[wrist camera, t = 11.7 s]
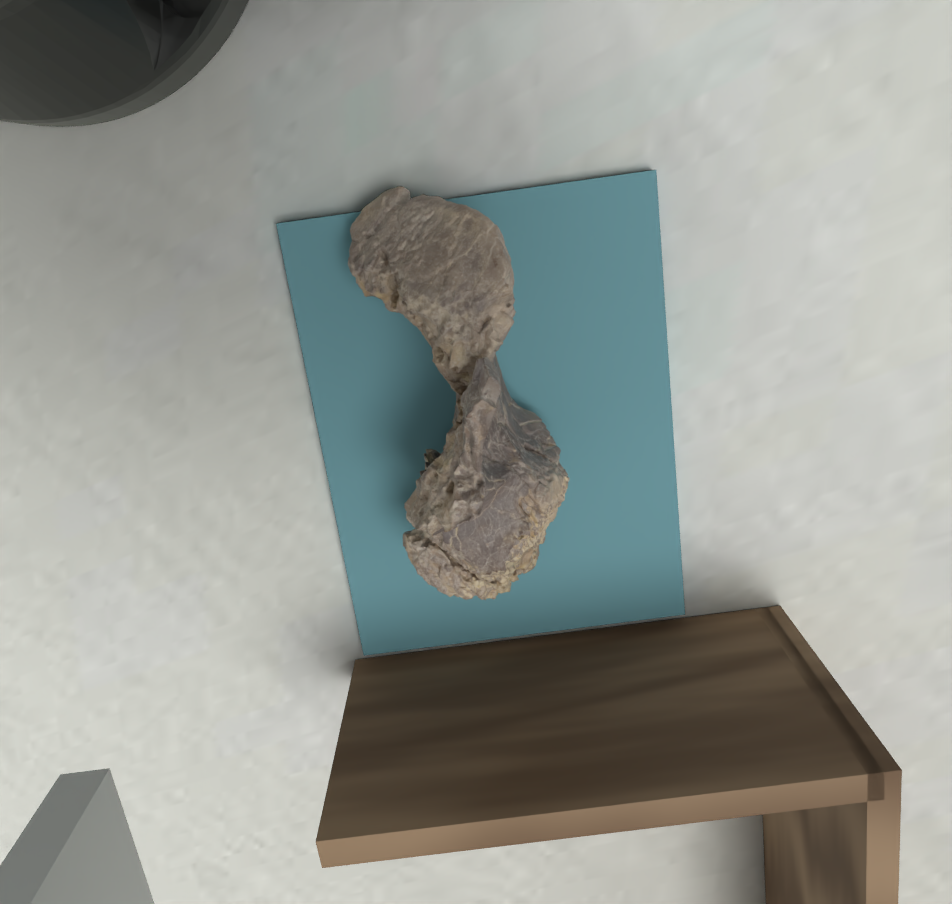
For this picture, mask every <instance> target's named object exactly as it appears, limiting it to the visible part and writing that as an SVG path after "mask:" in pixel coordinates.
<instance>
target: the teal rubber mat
mask: <svg viewBox="0 0 952 904" xmlns="http://www.w3.org/2000/svg"><path fill="white" fill-rule="evenodd" d="M445 200H446V201H450V202H453V203H456V204H463V205H467V206H468V207H470V208H472V209H476V210H478V211H479V212H481V213H482V214H483V215H485V216H487V217H488V218H489V219H490V220H491V221H492V222H493V223H494V224H496V225H497V226H498V227H499V229H500V231H501V233H502V235H503V237H504V241H505V246H506V248H507V250H508V253H509V255H510V257H511V265H512V269H513V274H514V287H513V294H514V298H515V302H514V304H513V306H514V310H515V311H516V313H515V316H514V317H513V320H514V323H513V325H512V327H511V329H510V330H509V332H508V334H507V336H506V338H505V340H504V341H503V345H501V346H500V348H499V350H498V351H496V356H497V360H498V364H499V367H500V369H501V373H502V376H503V379H504V382H505V385H506V388H507V390H508V392H509V394H510V396H511V398H512V399H513V400H514V401H515V402H516V403H517V405H518V406H520V407H522V408H524V409H526V410H529V411H532V412H534V413H535V414H536V415H537V416H538V417H539V418H541V419H542V422H543V423H544V424H545V425H546V429H547V430H548V431H549V432H550V436H552V437H553V439H554V441H555V443H556V445H557V446H558V447H559V448H560V450H561V452H560V455H559V456H560V459H559V462H560V464H561V466H562V467H563V468H564V469H565V470H566V472H567V474H568V477H569V481H568V488H567V491H566V493H565V500H564V501H563V502H562V503H561V506H560V507H558V511H557V514H556V517H555V519H554V521H553V522H550V524H549V525H548V527H547V529H546V535H545V541H544V543H543V544H540V545H539V552H540V553H539V556H538V559H537V562H536V566H535V567H534V568H533V569H532V570H531V571H529V572H527V573H525V574H523V573H522V574H521V575H518V578H519V580H518V581H515V582H512V581H511V584H512V585H511V590H510V592H505V593H502V594H501V593H498V595H497V596H496V598H495V599H494V600H493V599H491V598H487V599H486V600H484V599H483V600H481V599H480V598H478V597H477V596H474V597H473V598H472V599H467V600H465V599H463V598H461V597H457V596H454V595H453V596H451V597H449V596H447V595H446V594H443V593H441V592H439V591H438V590H437V588H435V587H433V586H432V585H429V584H428V583H427V582H426V581H425V580H424V579H423V577H421V576H420V575H418V574H417V571H416V569H415V567H414V566H413V564H412V563H411V561H410V559H409V558H408V554H407V552H406V549H405V547H404V546H403V534H404V532H407V531H412V530H413V529H415V528H414V527H413V525H412V524H411V523H410V522H409V521H408V520H407V519H406V513H407V512H406V510H405V508H404V506H405V505H404V504H405V502H406V501H407V500H408V499H409V498H410V496H411V495H412V493H413V492H414V490H415V489H416V488H417V486H416V480H417V479H419V478H420V477H421V476H420V471H423V470H425V459H424V453H426V449H433V450H436V451H438V452H439V453H440V454H441V453H442V452H443V447H444V445H445V444H446V435H447V433H448V432H449V431H450V429H451V428H452V427H453V423H452V422H453V418H454V413H455V405H456V392H455V391H453V389H451V386H450V384H449V383H448V382H447V380H446V379H445V378H444V377H443V375H442V374H441V373H440V372H439V370H438V369H437V367H436V365H435V363H434V362H433V361H432V360H433V353H432V347H431V345H429V343H428V341H427V340H426V339H425V337H424V336H423V335H422V333H421V331H420V330H419V329H418V328H417V327H416V326H414V325H413V324H412V323H411V322H410V321H409V320H408V319H407V318H405V317H404V315H403V314H401V313H399V312H398V313H396V312H391V311H388V309H386V307H385V303H383V301H382V299H379V298H377V297H374V296H370V297H365V296H364V293H363V291H362V290H361V288H360V287H359V286H358V284H357V283H356V278H355V277H354V276H353V275H352V273H351V272H350V269H349V266H348V258H349V249H350V245H351V242H352V238H351V233H350V228H351V225H352V223H353V222H354V221H355V220H356V218H357V217H358V216H359V215H360V213H361V211H360V212H353V213H346V214H339V215H332V216H325V217H318V218H311V219H304V220H297V221H290V222H282V223H277V224H276V225H277V230H278V235H279V240H280V245H281V250H282V255H283V260H284V265H285V270H286V275H287V280H288V284H289V289H290V294H291V299H292V304H293V309H294V314H295V319H296V324H297V329H298V334H299V339H300V344H301V349H302V354H303V359H304V363H305V368H306V373H307V378H308V383H309V388H310V393H311V398H312V403H313V408H314V413H315V418H316V423H317V428H318V433H319V438H320V442H321V447H322V452H323V457H324V462H325V467H326V472H327V477H328V482H329V487H330V492H331V497H332V502H333V507H334V512H335V516H336V521H337V526H338V531H339V536H340V541H341V546H342V551H343V556H344V561H345V566H346V571H347V576H348V581H349V586H350V591H351V595H352V600H353V605H354V610H355V615H356V620H357V625H358V630H359V635H360V640H361V645H362V650H363V655H364V656H365V655H372V654H380V653H388V652H396V651H404V650H411V649H419V648H427V647H435V646H443V645H451V644H458V643H466V642H474V641H482V640H490V639H498V638H505V637H513V636H521V635H529V634H537V633H545V632H552V631H560V630H568V629H576V628H584V627H591V626H599V625H607V624H615V623H623V622H631V621H638V620H646V619H654V618H662V617H670V616H678V615H685V607H684V591H683V576H682V561H681V545H680V530H679V514H678V499H677V483H676V468H675V453H674V437H673V422H672V406H671V391H670V375H669V360H668V344H667V329H666V314H665V298H664V283H663V267H662V252H661V236H660V221H659V206H658V190H657V175H656V170H649V171H642V172H635V173H628V174H621V175H614V176H607V177H600V178H593V179H586V180H579V181H572V182H565V183H558V184H551V185H544V186H536V187H529V188H522V189H515V190H508V191H501V192H494V193H487V194H480V195H473V196H466V197H459V198H452V199H445Z"/></svg>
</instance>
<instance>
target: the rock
mask: <svg viewBox="0 0 952 904" xmlns="http://www.w3.org/2000/svg"><path fill="white" fill-rule="evenodd" d="M350 233H351V238H352V242H351V245H350V249H349V258H348V266H349V269H350V272H351V273H352V275H353V276H354V277H355V278H356V283H357V284H358V286H359V287H360V288H361V290H362V291H363V293H364V296H365V297H370V296H374V297H377V298H379V299H382V301H383V303H385V307H386V309H388V311H391V312H396V313H398V312H399V313H401V314H403V315H404V317H405V318H407V319H408V320H409V321H410V322H411V323H412V324H413V325H414V326H416V327H417V328H418V329H419V330H420V331H421V333H422V335H423V336H424V337H425V339H426V340H427V341H428V343H429V345H431V347H432V353H433V360H432V361H433V362H434V363H435V365H436V367H437V369H438V370H439V372H440V373H441V374H442V375H443V377H444V378H445V379H446V380H447V382H448V383H449V384H450V386H451V389H453V391H455V392H456V405H455V413H454V418H453V422H452V423H453V427H452V428H451V429H450V431H449V432H448V433H447V435H446V444H445V445H444V447H443V452H442V453H441V454H440V453H439V452H438V451H436V450H433V449H426V453H424V459H425V470H423V471H420V476H421V477H420V478H419V479H417V480H416V486H417V488H416V489H415V490H414V492H413V493H412V495H411V496H410V498H409V499H408V500H407V501H406V502H405V504H404V505H405V506H404V508H405V510H406V512H407V513H406V519H407V520H408V521H409V522H410V523H411V524H412V525H413V527H414V528H415V529H413V530H412V531H407V532H404V534H403V546H404V547H405V549H406V552H407V554H408V558H409V559H410V561H411V563H412V564H413V566H414V567H415V569H416V571H417V574H418V575H420V576H421V577H423V579H424V580H425V581H426V582H427V583H428V584H429V585H432V586H433V587H435V588H437V590H438V591H439V592H441V593H443V594H446V595H447V596H449V597H451V596H453V595H454V596H457V597H461V598H463V599H465V600H467V599H472V598H473V597H474V596H477V597H478V598H480V599H481V600H483V599H484V600H486V599H487V598H491V599H493V600H494V599H495V598H496V596H497V595H498V593H501V594H502V593H505V592H510V590H511V585H512V584H511V581H512V582H515V581H518V580H519V578H518V575H521V574H522V573H523V574H525V573H527V572H529V571H531V570H532V569H533V568H534V567H535V566H536V562H537V559H538V556H539V553H540V552H539V545H540V544H543V543H544V541H545V535H546V529H547V527H548V525H549V524H550V522H553V521H554V519H555V517H556V514H557V511H558V507H560V506H561V503H562V502H563V501H564V500H565V493H566V491H567V488H568V481H569V477H568V474H567V472H566V470H565V469H564V468H563V467H562V466H561V464H560V462H559V459H560V456H559V455H560V452H561V450H560V448H559V447H558V446H557V445H556V443H555V441H554V439H553V437H552V436H550V432H549V431H548V430H547V429H546V425H545V424H544V423H543V422H542V419H541V418H539V417H538V416H537V415H536V414H535V413H534V412H532V411H529V410H526V409H524V408H522V407H520V406H518V405H517V403H516V402H515V401H514V400H513V399H512V398H511V396H510V394H509V392H508V390H507V388H506V385H505V382H504V379H503V376H502V373H501V369H500V367H499V364H498V360H497V356H496V351H498V350H499V348H500V346H501V345H503V341H504V340H505V338H506V336H507V334H508V332H509V330H510V329H511V327H512V325H513V323H514V320H513V317H514V316H515V313H516V311H515V310H514V306H513V304H514V302H515V298H514V294H513V287H514V274H513V269H512V265H511V257H510V255H509V253H508V250H507V248H506V246H505V241H504V237H503V235H502V233H501V231H500V229H499V227H498V226H497V225H496V224H494V223H493V222H492V221H491V220H490V219H489V218H488V217H487V216H485V215H483V214H482V213H481V212H479V211H478V210H476V209H472V208H470V207H468V206H467V205H463V204H456V203H453V202H450V201H446V200H444V199H442V198H441V197H439V196H427V195H424V194H422V195H420V196H417V197H413V198H412V199H411V197H410V191H409V190H408V189H406V188H405V187H401V186H398V187H396V188H392V189H388V190H387V191H385V192H383V193H381V195H380V196H378V197H377V198H376V199H374V200H373V201H372V202H371V203H369V204H368V205H367V206H365V207H364V208H363V209H362V211H361V213H360V215H359V216H358V217H357V218H356V220H355V221H354V222H353V223H352V225H351V228H350Z"/></svg>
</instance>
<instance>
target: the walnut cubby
mask: <svg viewBox="0 0 952 904" xmlns="http://www.w3.org/2000/svg"><path fill="white" fill-rule="evenodd" d="M901 778H902V770H901V768H900V767H899V766H898V764H897V763H896V762H895V760H894V759H893V758H892V756H891V755H890V754H889V752H888V751H887V750H886V748H885V747H884V745H883V744H882V743H881V741H880V740H879V739H878V737H877V736H876V735H875V733H874V732H873V731H872V729H871V728H870V727H869V725H868V724H867V722H866V721H865V720H864V718H863V717H862V716H861V714H860V713H859V712H858V710H857V709H856V708H855V706H854V705H853V704H852V702H851V701H850V699H849V698H848V697H847V695H846V694H845V693H844V691H843V690H842V689H841V687H840V686H839V685H838V683H837V682H836V681H835V679H834V678H833V676H832V675H831V674H830V672H829V671H828V670H827V668H826V667H825V666H824V664H823V663H822V662H821V660H820V659H819V658H818V656H817V655H816V653H815V652H814V651H813V649H812V648H811V647H810V645H809V644H808V643H807V641H806V640H805V639H804V637H803V636H802V635H801V633H800V632H799V631H798V629H797V628H796V626H795V625H794V624H793V622H792V621H791V620H790V618H789V617H788V616H787V614H786V613H785V612H784V610H783V609H782V608H781V606H773V607H765V608H757V609H749V610H741V611H733V612H726V613H718V614H710V615H702V616H694V617H686V618H679V619H671V620H663V621H655V622H647V623H639V624H632V625H624V626H616V627H608V628H600V629H592V630H585V631H577V632H569V633H561V634H553V635H546V636H538V637H530V638H522V639H514V640H506V641H499V642H491V643H483V644H475V645H467V646H459V647H452V648H444V649H436V650H428V651H420V652H412V653H405V654H397V655H389V656H381V657H373V658H365V659H358V660H355V664H354V669H353V673H352V678H351V682H350V687H349V692H348V696H347V701H346V705H345V710H344V714H343V719H342V724H341V728H340V733H339V737H338V742H337V747H336V751H335V756H334V760H333V765H332V770H331V774H330V779H329V783H328V788H327V792H326V797H325V802H324V806H323V811H322V815H321V820H320V825H319V829H318V834H317V838H316V845H317V849H318V853H319V857H320V861H321V865H322V868H326V867H334V866H342V865H350V864H359V863H367V862H375V861H383V860H392V859H400V858H408V857H416V856H425V855H433V854H441V853H449V852H458V851H466V850H474V849H482V848H490V847H499V846H507V845H515V844H523V843H532V842H540V841H548V840H556V839H565V838H573V837H581V836H589V835H598V834H606V833H614V832H622V831H631V830H639V829H647V828H655V827H664V826H672V825H680V824H688V823H697V822H705V821H713V820H721V819H730V818H738V817H746V816H754V815H763V836H764V865H765V893H766V904H898V886H899V850H900V814H901Z"/></svg>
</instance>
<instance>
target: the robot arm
mask: <svg viewBox="0 0 952 904" xmlns="http://www.w3.org/2000/svg"><path fill="white" fill-rule="evenodd" d="M248 1H249V0H0V121H6V122H14V123H22V124H30V125H39V126H55V127H64V126H82V125H91V124H97V123H102V122H107V121H111V120H115V119H118V118H122V117H125V116H128V115H130V114H133V113H136V112H139V111H141V110H143V109H145V108H147V107H149V106H151V105H154V104H155V103H157V102H159V101H161V100H162V99H164V98H166V97H168V96H169V95H171V94H172V93H173V92H175V91H176V90H178V89H179V88H181V87H182V86H183V85H184V84H186V83H187V82H188V81H189V80H190V79H192V78H193V77H194V76H195V75H196V74H197V73H198V72H199V71H200V70H201V69H202V68H203V67H204V66H205V65H206V64H207V63H208V62H209V61H210V60H211V59H212V58H213V57H214V55H215V54H216V53H217V52H218V51H219V49H220V48H221V47H222V45H223V44H224V43H225V41H226V40H227V38H228V37H229V36H230V34H231V32H232V31H233V29H234V27H235V26H236V24H237V23H238V21H239V19H240V17H241V15H242V13H243V11H244V9H245V7H246V5H247V3H248ZM0 904H154V901H153V898H152V895H151V892H150V889H149V886H148V883H147V880H146V877H145V874H144V871H143V868H142V865H141V862H140V859H139V856H138V853H137V850H136V847H135V844H134V841H133V838H132V835H131V832H130V829H129V826H128V823H127V820H126V817H125V814H124V811H123V808H122V805H121V802H120V799H119V796H118V793H117V790H116V787H115V784H114V781H113V778H112V774H111V771H110V768H109V769H101V770H93V771H85V772H77V773H69V774H61V775H60V776H59V777H58V779H57V781H56V782H55V784H54V785H53V787H52V788H51V790H50V791H49V793H48V794H47V796H46V797H45V799H44V800H43V802H42V803H41V805H40V806H39V808H38V809H37V811H36V812H35V814H34V815H33V817H32V818H31V820H30V821H29V823H28V824H27V826H26V828H25V829H24V831H23V832H22V834H21V835H20V837H19V838H18V840H17V841H16V843H15V844H14V846H13V847H12V849H11V850H10V852H9V853H8V855H7V856H6V858H5V859H4V861H3V862H2V864H1V865H0Z"/></svg>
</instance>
